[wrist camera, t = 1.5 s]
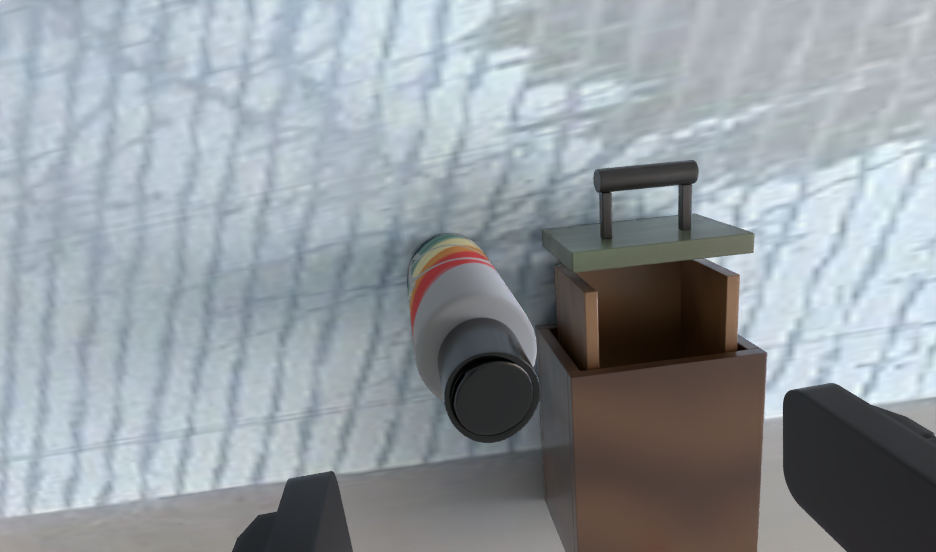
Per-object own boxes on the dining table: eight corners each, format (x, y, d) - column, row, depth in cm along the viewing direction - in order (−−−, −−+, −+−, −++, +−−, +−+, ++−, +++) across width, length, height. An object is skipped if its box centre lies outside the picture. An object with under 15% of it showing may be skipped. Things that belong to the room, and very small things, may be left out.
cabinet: (535, 325, 44) (570, 377, 36) (695, 306, 45) (767, 352, 37) (544, 500, 48) (579, 586, 39) (692, 478, 49) (757, 557, 41)
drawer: (538, 166, 40) (569, 177, 33) (696, 151, 41) (758, 159, 34) (550, 409, 45) (579, 463, 38) (691, 390, 46) (746, 440, 39)
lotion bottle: (422, 219, 41) (451, 312, 22) (500, 247, 42) (591, 357, 23) (394, 296, 42) (399, 448, 23) (471, 321, 44) (535, 484, 24)
